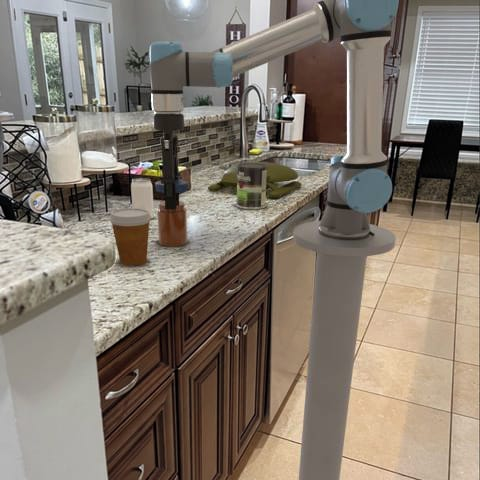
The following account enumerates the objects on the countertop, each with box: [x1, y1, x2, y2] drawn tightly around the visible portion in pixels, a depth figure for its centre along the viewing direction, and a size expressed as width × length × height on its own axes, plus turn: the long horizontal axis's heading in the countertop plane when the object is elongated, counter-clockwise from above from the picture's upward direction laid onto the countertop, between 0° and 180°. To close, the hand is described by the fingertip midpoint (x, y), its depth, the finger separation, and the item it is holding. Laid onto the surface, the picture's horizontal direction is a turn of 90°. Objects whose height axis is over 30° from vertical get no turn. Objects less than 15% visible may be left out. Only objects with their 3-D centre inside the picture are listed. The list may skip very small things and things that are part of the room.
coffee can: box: [236, 162, 267, 210], centre depth 174 cm, size 10×10×14 cm
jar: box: [157, 200, 188, 247], centre depth 134 cm, size 8×8×11 cm
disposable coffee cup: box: [108, 207, 152, 267], centre depth 118 cm, size 10×10×12 cm
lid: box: [154, 179, 189, 194], centre depth 130 cm, size 8×8×2 cm
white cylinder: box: [130, 177, 155, 220], centre depth 157 cm, size 6×6×12 cm
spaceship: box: [207, 161, 303, 199], centre depth 205 cm, size 35×31×10 cm
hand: (172, 205), depth 132 cm, fingers closed on lid, 8 cm apart
